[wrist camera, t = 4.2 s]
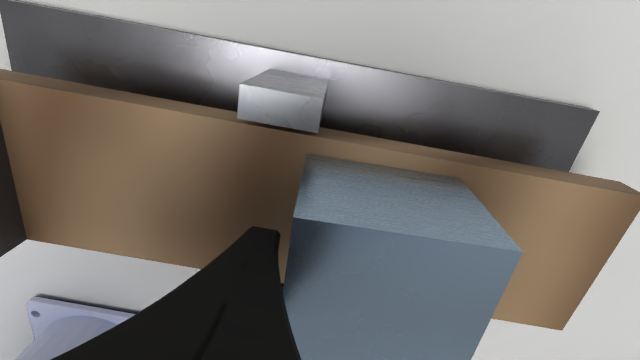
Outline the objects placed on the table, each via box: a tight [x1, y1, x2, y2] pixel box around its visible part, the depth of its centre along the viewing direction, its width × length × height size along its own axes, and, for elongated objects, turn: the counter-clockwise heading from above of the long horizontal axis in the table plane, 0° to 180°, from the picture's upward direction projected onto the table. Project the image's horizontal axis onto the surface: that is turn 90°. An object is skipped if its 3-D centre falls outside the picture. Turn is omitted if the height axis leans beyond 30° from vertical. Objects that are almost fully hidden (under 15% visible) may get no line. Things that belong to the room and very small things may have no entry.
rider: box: [283, 154, 523, 360], centre depth 10 cm, size 5×5×4 cm
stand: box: [0, 0, 600, 291], centre depth 13 cm, size 24×10×5 cm, turn 80°
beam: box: [0, 69, 640, 330], centre depth 11 cm, size 24×6×4 cm, turn 80°
